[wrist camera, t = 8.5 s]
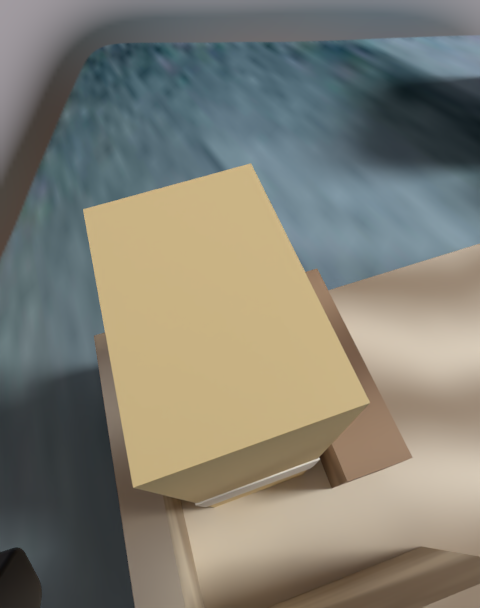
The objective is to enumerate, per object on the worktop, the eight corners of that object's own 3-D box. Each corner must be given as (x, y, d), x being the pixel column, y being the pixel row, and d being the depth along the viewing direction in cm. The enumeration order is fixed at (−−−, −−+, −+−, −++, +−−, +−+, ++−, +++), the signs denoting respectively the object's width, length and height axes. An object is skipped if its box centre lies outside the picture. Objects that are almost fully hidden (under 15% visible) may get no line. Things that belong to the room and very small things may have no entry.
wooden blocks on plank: (710, 492, 16) (1015, 475, 10) (179, 712, 14) (105, 888, 7) (503, 241, 23) (601, 128, 16) (117, 361, 21) (48, 285, 14)
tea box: (304, 475, 17) (374, 404, 6) (213, 509, 17) (130, 492, 6) (257, 350, 20) (252, 161, 9) (178, 376, 19) (80, 208, 9)
